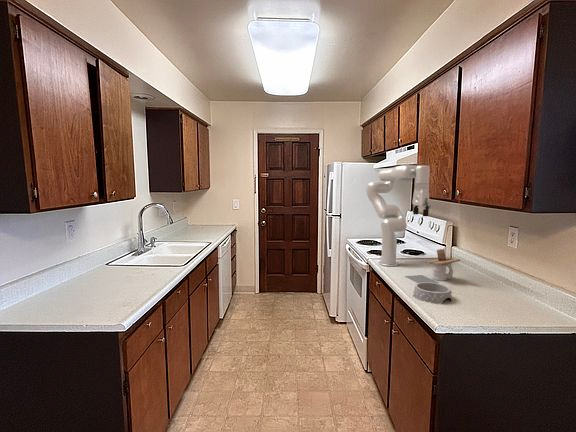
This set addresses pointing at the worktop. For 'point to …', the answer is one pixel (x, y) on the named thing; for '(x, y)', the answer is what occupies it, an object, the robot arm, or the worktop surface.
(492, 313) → the worktop surface
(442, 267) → the mug
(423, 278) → the grey flat slab
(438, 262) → the walnut lid
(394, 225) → the robot arm
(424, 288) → the dog bowl
